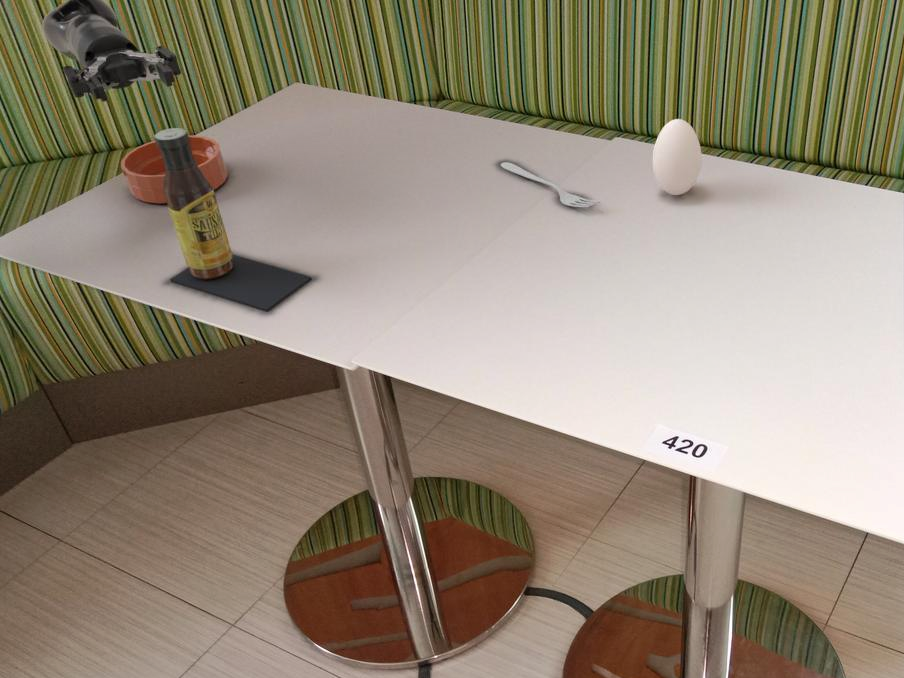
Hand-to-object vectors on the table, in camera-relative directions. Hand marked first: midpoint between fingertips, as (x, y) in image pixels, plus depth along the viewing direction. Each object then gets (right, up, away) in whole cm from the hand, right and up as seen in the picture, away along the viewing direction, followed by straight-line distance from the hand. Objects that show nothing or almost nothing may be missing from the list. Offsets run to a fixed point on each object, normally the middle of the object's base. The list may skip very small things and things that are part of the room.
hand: (136, 86), depth 129 cm
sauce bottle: (+7, -23, +8) cm, 26 cm away
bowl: (-7, -5, +30) cm, 31 cm away
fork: (+53, -7, +25) cm, 59 cm away
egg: (+74, -9, +22) cm, 77 cm away
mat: (+12, -25, +7) cm, 28 cm away
